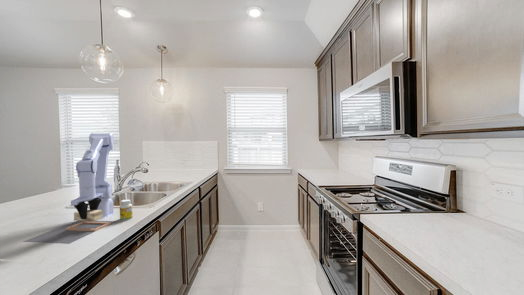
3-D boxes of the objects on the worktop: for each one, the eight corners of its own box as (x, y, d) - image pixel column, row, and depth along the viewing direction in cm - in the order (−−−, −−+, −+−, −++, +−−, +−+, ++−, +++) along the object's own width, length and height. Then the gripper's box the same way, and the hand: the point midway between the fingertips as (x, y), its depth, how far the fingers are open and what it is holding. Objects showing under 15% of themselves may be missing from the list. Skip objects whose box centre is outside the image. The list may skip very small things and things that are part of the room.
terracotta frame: (83, 223, 108) (83, 221, 108) (110, 224, 107) (110, 222, 107) (65, 230, 100) (65, 228, 100) (95, 231, 98) (95, 229, 98)
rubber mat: (79, 221, 113) (79, 220, 113) (116, 222, 110) (116, 221, 110) (23, 242, 89) (23, 241, 89) (69, 244, 86) (69, 243, 86)
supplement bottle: (134, 218, 115) (134, 199, 115) (124, 222, 110) (123, 202, 110) (128, 217, 118) (128, 198, 117) (117, 220, 113) (117, 201, 113)
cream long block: (102, 217, 105) (102, 210, 104) (94, 221, 100) (94, 213, 100) (82, 217, 106) (82, 209, 106) (74, 220, 101) (73, 212, 101)
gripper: (93, 183, 110) (94, 211, 111) (63, 190, 96) (64, 222, 96) (106, 183, 109) (107, 212, 110) (78, 190, 95) (80, 222, 95)
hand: (88, 216), depth 103 cm, fingers closed on cream long block, 4 cm apart
